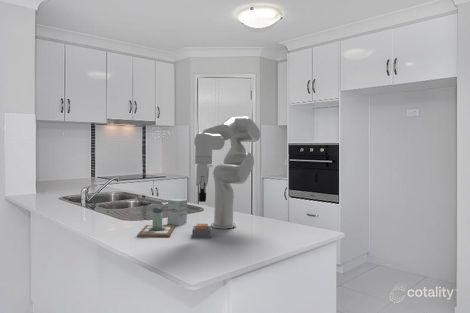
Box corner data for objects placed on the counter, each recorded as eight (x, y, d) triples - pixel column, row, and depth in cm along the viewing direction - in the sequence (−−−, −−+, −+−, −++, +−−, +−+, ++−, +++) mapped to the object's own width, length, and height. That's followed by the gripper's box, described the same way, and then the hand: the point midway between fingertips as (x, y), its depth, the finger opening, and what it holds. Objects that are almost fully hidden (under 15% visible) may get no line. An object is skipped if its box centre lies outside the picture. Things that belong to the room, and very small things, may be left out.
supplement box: (166, 224, 186) (167, 199, 186) (175, 221, 193) (176, 198, 192) (178, 225, 183) (179, 201, 182) (187, 223, 189) (187, 199, 189)
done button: (196, 229, 166) (196, 223, 166) (207, 229, 166) (207, 223, 166) (196, 232, 161) (196, 225, 161) (207, 232, 161) (207, 226, 161)
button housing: (193, 233, 167) (193, 225, 167) (210, 233, 168) (211, 226, 167) (192, 237, 159) (192, 229, 159) (210, 237, 160) (210, 230, 160)
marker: (153, 228, 171) (153, 206, 170) (162, 228, 171) (163, 207, 171) (151, 230, 166) (152, 208, 166) (161, 230, 166) (161, 208, 166)
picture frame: (146, 227, 178) (146, 224, 178) (174, 227, 179) (175, 224, 179) (137, 236, 158) (137, 234, 158) (169, 237, 159) (169, 234, 159)
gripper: (196, 160, 170) (195, 199, 170) (193, 160, 155) (192, 203, 155) (212, 160, 170) (211, 199, 170) (211, 161, 155) (210, 204, 156)
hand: (202, 201), depth 163 cm, fingers closed
